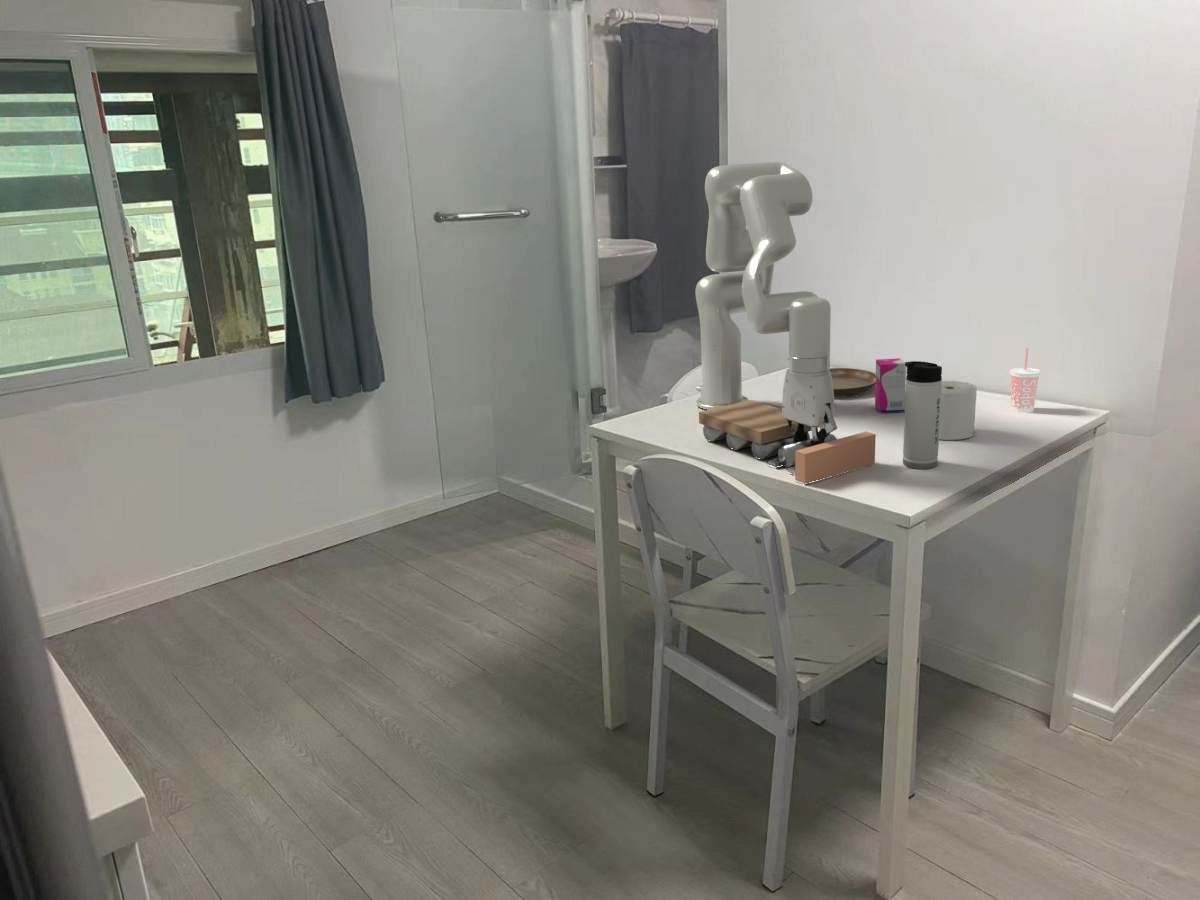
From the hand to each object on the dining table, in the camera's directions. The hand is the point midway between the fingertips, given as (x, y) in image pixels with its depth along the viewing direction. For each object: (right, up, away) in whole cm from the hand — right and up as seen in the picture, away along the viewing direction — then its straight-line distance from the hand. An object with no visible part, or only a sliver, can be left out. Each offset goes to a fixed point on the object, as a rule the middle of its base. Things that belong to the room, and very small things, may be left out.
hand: (808, 455), depth 180 cm
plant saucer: (+19, +16, +53) cm, 59 cm away
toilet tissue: (+31, +4, +13) cm, 34 cm away
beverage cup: (+53, +10, +26) cm, 60 cm away
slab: (-8, +6, +12) cm, 16 cm away
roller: (0, -1, 0) cm, 1 cm away
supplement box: (+26, +10, +33) cm, 43 cm away
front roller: (-4, 0, +7) cm, 8 cm away
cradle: (0, -2, 0) cm, 2 cm away
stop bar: (+4, -3, -6) cm, 8 cm away
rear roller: (-12, +4, +20) cm, 24 cm away
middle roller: (-8, +2, +14) cm, 16 cm away
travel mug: (+20, -2, -4) cm, 21 cm away
